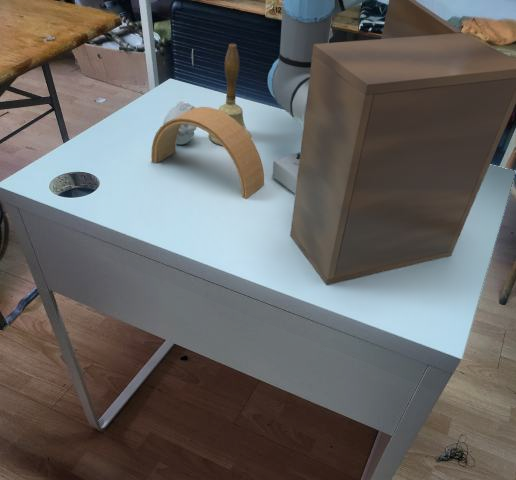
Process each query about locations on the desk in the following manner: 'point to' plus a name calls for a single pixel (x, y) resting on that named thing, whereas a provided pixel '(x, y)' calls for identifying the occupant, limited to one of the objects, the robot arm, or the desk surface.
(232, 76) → the hand bell
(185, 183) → the desk surface
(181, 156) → the desk surface
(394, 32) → the cupboard door
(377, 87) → the cupboard
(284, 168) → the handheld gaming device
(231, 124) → the arch
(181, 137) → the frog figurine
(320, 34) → the robot arm
